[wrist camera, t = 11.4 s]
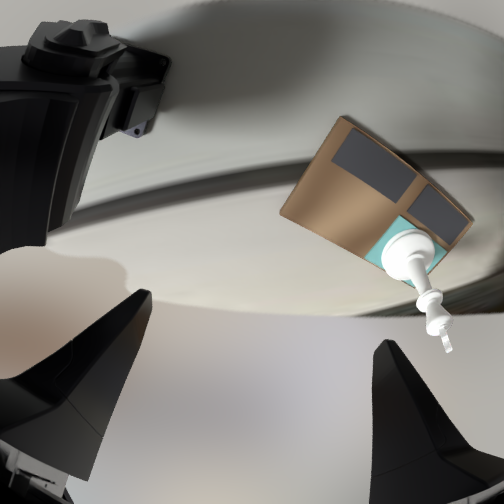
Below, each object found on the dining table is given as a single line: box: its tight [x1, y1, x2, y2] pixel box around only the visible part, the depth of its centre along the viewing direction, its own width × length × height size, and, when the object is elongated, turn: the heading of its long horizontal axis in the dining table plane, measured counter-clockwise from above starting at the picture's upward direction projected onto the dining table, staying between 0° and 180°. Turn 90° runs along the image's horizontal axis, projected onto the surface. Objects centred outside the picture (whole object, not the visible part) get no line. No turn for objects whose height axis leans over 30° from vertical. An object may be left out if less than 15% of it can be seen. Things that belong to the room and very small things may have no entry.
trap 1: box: [407, 184, 469, 246], centre depth 19 cm, size 6×3×1 cm, turn 64°
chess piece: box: [381, 229, 453, 353], centre depth 18 cm, size 5×5×10 cm
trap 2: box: [331, 128, 417, 204], centre depth 18 cm, size 6×3×1 cm, turn 64°
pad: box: [364, 215, 447, 287], centre depth 22 cm, size 7×5×1 cm
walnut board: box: [280, 116, 473, 289], centre depth 20 cm, size 15×8×1 cm, turn 64°
